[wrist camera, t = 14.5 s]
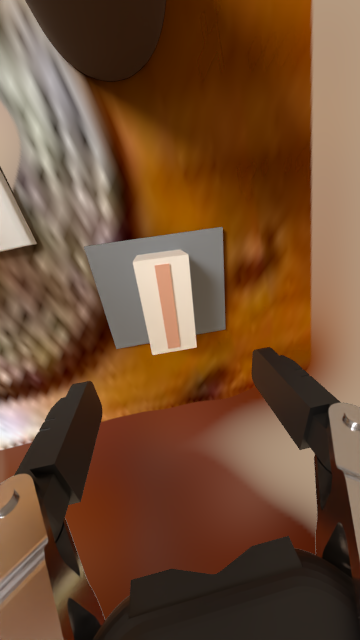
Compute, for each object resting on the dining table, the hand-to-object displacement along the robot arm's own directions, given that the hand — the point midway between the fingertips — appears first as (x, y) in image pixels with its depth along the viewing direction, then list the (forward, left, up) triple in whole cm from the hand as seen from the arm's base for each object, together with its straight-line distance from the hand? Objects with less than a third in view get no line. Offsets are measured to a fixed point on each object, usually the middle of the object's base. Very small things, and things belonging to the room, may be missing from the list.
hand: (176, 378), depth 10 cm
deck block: (0, 0, -14) cm, 14 cm away
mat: (0, 0, -15) cm, 15 cm away
